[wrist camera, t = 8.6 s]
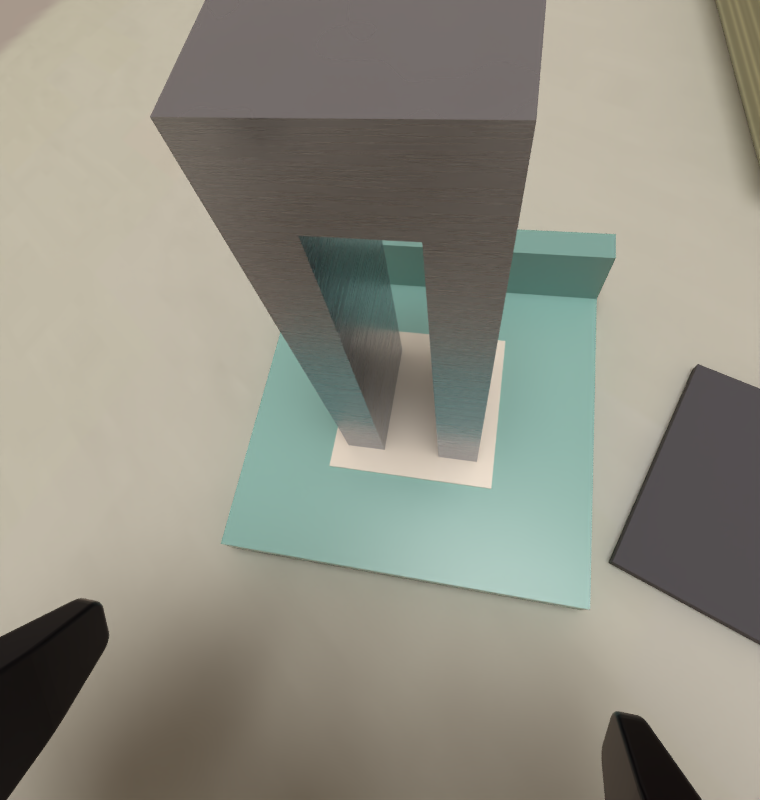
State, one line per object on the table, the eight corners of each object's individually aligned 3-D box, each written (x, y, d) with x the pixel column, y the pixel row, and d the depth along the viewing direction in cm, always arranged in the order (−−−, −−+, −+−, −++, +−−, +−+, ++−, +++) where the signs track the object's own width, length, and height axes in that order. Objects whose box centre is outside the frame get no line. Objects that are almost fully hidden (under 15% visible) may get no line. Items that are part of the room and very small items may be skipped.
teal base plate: (580, 609, 16) (613, 608, 13) (234, 547, 18) (187, 533, 15) (589, 294, 21) (615, 234, 17) (308, 275, 23) (284, 218, 19)
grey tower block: (476, 461, 17) (535, 120, 5) (348, 445, 18) (150, 116, 6) (488, 357, 19) (553, -96, 7) (368, 346, 19) (240, -75, 8)
